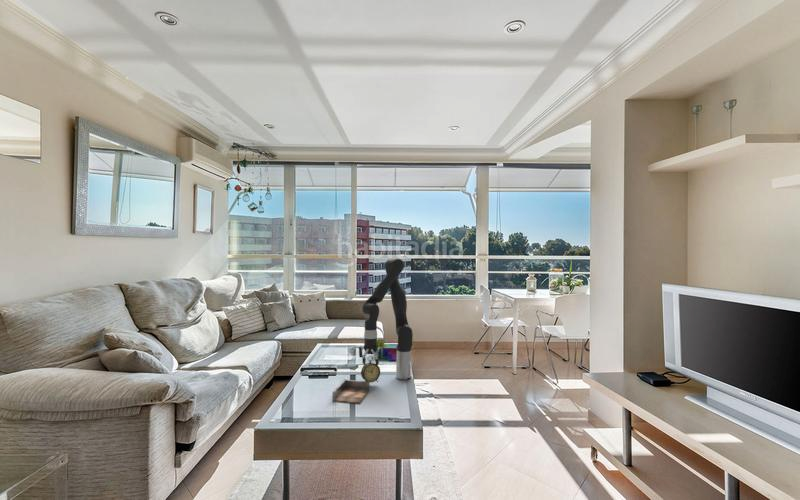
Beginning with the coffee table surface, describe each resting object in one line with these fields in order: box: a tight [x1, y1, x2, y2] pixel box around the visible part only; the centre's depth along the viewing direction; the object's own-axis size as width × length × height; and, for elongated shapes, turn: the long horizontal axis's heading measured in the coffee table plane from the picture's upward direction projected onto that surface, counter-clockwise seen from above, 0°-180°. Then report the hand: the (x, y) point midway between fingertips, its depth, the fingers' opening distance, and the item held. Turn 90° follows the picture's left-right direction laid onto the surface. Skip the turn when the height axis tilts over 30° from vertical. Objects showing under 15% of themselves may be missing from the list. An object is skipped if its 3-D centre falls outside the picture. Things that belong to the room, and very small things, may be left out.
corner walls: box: [331, 379, 370, 400], centre depth 210 cm, size 15×19×4 cm
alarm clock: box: [360, 355, 381, 383], centre depth 226 cm, size 11×5×16 cm, turn 118°
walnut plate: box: [331, 388, 370, 405], centre depth 210 cm, size 15×19×1 cm
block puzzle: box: [374, 337, 398, 362], centre depth 282 cm, size 25×17×14 cm
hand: (370, 364), depth 226 cm, fingers closed on alarm clock, 7 cm apart
